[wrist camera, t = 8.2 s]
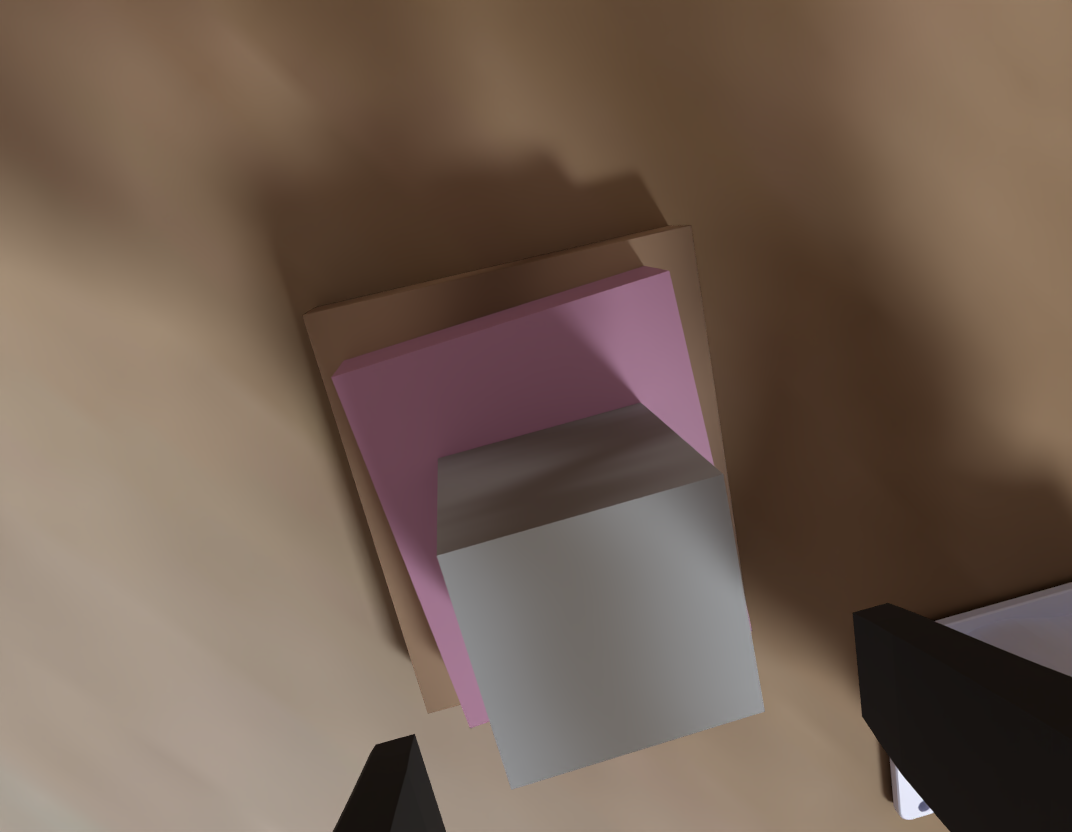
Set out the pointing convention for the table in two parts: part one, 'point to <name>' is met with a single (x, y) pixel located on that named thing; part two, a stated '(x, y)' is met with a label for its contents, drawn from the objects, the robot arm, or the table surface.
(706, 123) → the table surface
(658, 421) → the slate cube
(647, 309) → the plum top block
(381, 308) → the walnut base block
